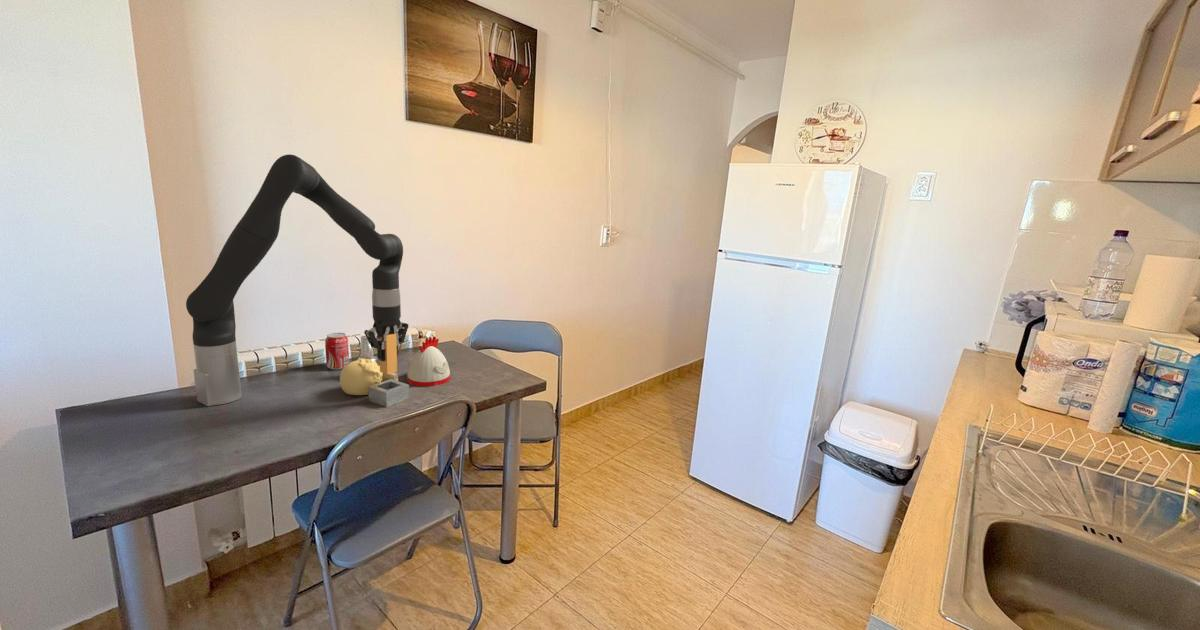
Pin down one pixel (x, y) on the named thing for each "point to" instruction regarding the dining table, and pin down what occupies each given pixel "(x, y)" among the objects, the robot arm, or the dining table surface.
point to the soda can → (336, 351)
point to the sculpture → (360, 376)
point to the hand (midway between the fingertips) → (388, 358)
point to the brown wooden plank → (390, 377)
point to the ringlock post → (366, 350)
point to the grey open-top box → (388, 392)
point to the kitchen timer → (428, 366)
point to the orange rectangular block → (389, 355)
